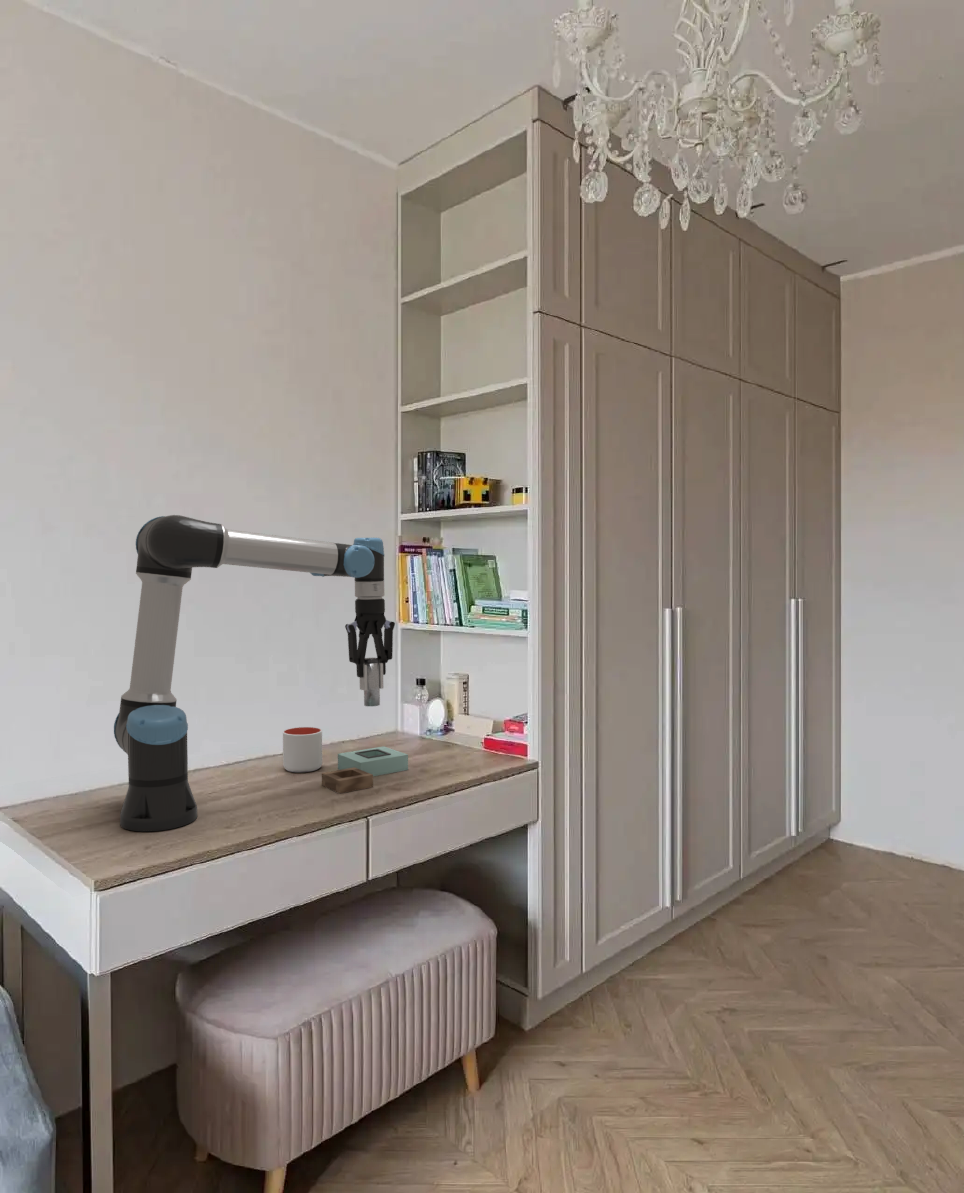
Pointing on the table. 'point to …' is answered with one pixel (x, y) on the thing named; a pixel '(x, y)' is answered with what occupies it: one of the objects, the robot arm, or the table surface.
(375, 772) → the block
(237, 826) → the table surface
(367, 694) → the plug
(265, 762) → the table surface
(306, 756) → the cup
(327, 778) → the brown wooden square tray
